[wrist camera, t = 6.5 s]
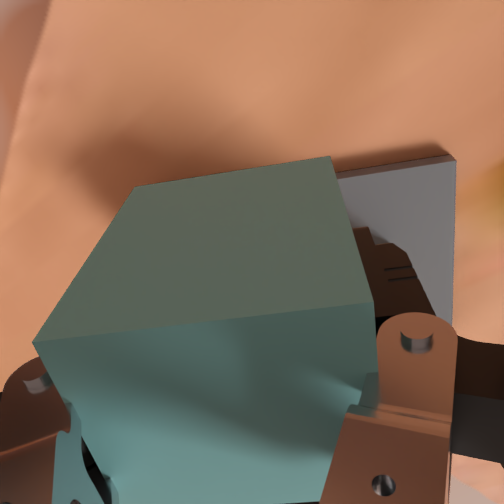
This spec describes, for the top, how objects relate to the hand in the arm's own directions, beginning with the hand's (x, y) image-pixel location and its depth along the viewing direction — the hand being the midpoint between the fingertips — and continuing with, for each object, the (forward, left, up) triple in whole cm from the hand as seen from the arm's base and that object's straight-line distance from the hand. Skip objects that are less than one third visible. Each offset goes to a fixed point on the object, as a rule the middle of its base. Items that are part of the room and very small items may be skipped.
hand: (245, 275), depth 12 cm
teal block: (0, 0, -1) cm, 1 cm away
